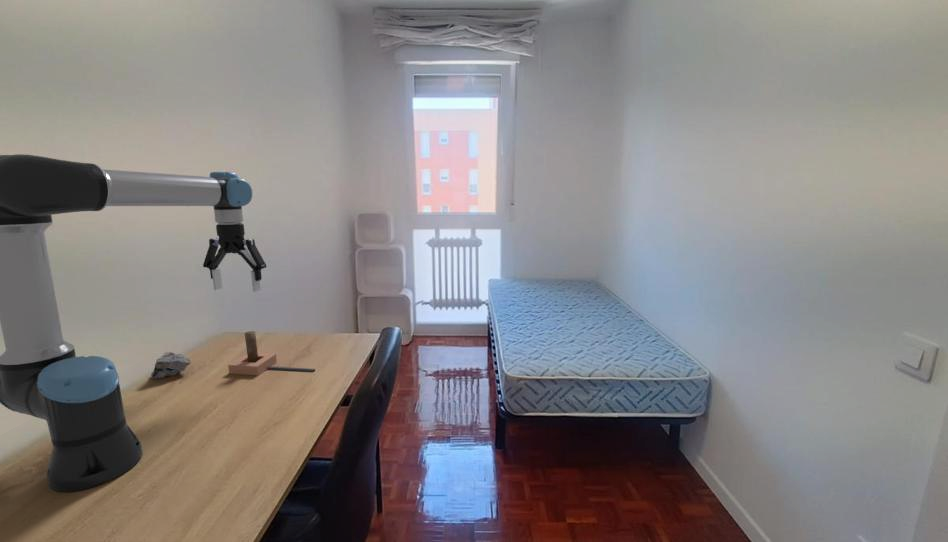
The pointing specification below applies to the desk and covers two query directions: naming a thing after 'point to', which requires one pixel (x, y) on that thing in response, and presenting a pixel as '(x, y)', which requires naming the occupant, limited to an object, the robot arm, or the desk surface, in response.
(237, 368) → the pink square frame
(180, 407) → the desk surface
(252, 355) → the dowel
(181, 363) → the mineral specimen
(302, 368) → the strip
